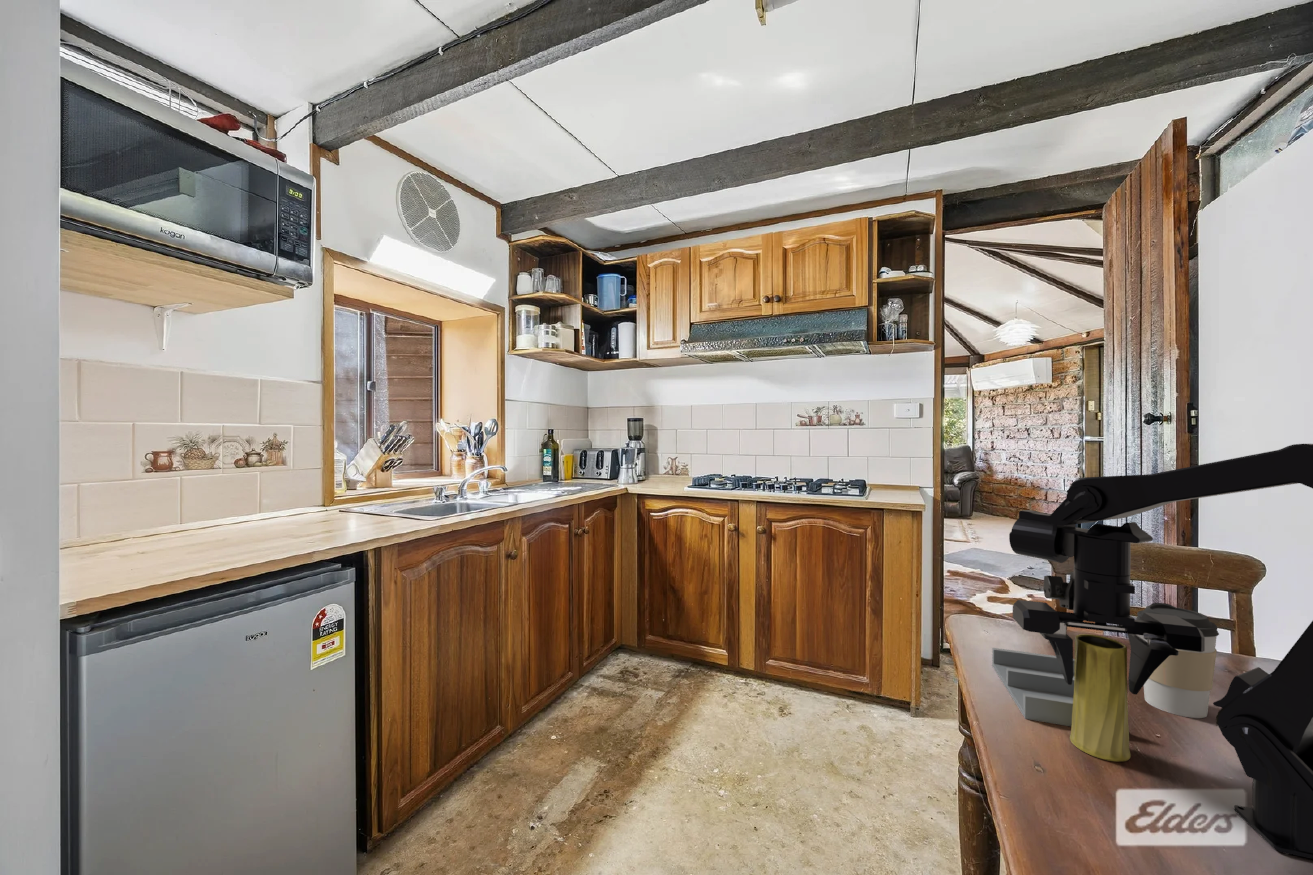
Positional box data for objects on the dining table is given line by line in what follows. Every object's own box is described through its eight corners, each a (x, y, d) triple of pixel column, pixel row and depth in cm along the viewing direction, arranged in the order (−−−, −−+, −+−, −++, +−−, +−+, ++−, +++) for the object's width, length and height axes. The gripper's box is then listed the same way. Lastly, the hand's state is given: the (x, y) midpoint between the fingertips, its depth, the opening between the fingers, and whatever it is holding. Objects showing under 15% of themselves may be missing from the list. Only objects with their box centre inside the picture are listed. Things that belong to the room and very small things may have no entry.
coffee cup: (1236, 725, 75) (1237, 621, 75) (1162, 718, 77) (1163, 616, 77) (1186, 695, 84) (1187, 602, 84) (1121, 689, 86) (1122, 598, 86)
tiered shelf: (1127, 735, 72) (1128, 712, 72) (1025, 718, 76) (1025, 696, 76) (1072, 677, 90) (1073, 658, 90) (992, 665, 94) (992, 647, 94)
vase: (1060, 741, 70) (1061, 636, 70) (1085, 731, 73) (1086, 629, 73) (1115, 767, 65) (1116, 653, 65) (1140, 755, 67) (1141, 645, 67)
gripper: (1157, 563, 73) (1156, 674, 73) (1002, 552, 80) (1001, 653, 80) (1208, 584, 63) (1206, 713, 63) (1025, 569, 69) (1024, 685, 69)
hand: (1100, 688), depth 69 cm, fingers open, 7 cm apart
